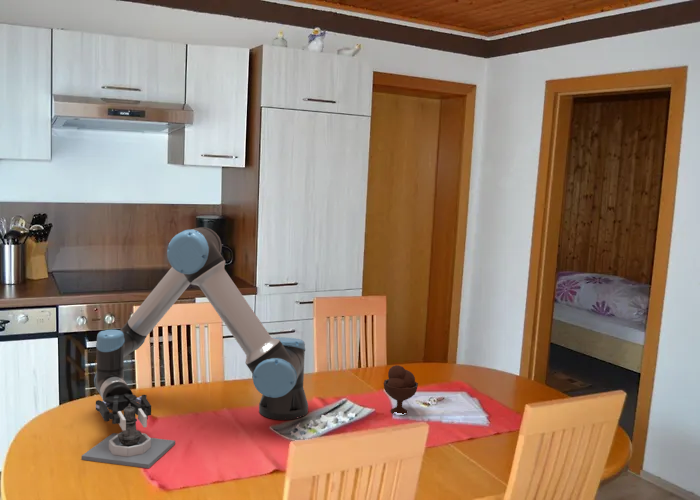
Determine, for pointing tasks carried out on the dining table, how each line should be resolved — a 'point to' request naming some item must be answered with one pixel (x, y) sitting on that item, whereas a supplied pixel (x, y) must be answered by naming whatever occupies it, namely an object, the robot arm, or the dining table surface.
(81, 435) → the dining table surface
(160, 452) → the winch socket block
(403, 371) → the ice cream bowl
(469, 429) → the dining table surface
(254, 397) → the dining table surface
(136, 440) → the chess piece
